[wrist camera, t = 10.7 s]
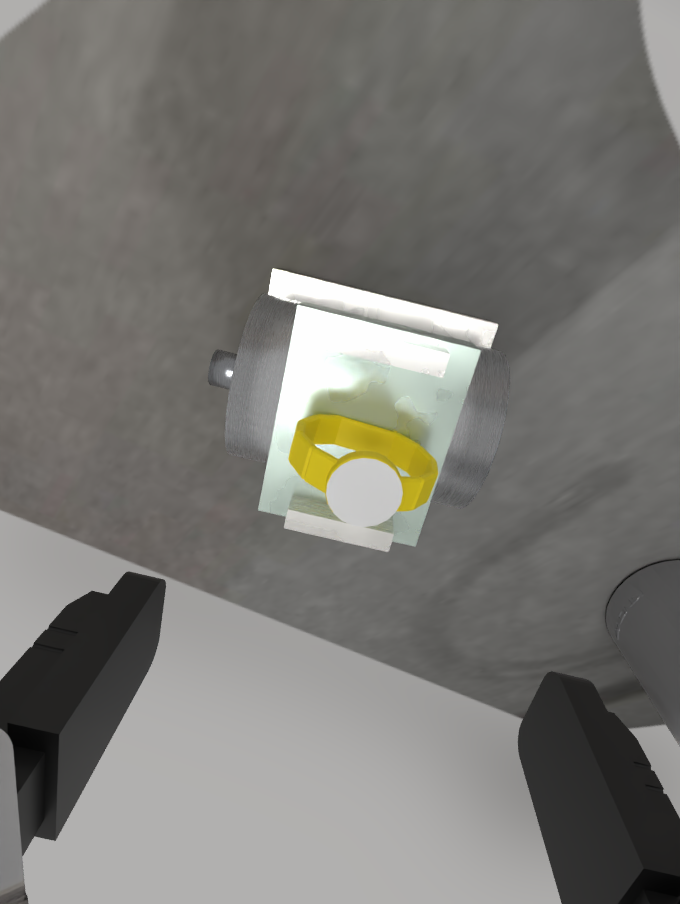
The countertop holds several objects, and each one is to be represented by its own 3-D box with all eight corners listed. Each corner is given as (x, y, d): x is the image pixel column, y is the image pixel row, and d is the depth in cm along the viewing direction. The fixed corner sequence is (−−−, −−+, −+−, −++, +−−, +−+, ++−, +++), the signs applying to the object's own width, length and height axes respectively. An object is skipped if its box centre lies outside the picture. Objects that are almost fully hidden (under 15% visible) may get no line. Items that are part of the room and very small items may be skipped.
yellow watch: (432, 424, 23) (462, 481, 18) (412, 477, 24) (435, 546, 19) (305, 389, 23) (296, 437, 17) (289, 445, 24) (276, 507, 18)
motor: (493, 321, 32) (566, 362, 20) (441, 475, 36) (476, 586, 24) (253, 262, 32) (181, 267, 20) (228, 424, 36) (155, 512, 24)
